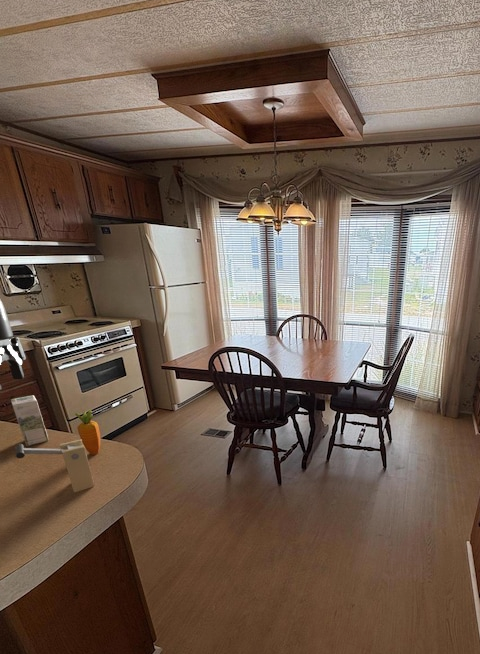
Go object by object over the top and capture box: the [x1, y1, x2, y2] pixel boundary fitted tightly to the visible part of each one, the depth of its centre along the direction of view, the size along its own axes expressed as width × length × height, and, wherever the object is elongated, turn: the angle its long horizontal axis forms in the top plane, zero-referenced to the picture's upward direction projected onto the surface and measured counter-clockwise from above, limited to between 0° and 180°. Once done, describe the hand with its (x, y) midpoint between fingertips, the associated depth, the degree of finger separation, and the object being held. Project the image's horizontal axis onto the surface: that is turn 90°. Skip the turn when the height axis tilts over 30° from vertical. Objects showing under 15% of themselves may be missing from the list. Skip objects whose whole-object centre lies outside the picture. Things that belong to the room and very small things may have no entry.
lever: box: [14, 443, 79, 459], centre depth 81 cm, size 12×5×2 cm, turn 131°
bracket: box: [59, 438, 95, 493], centre depth 86 cm, size 8×7×13 cm
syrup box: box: [10, 394, 50, 447], centre depth 106 cm, size 6×6×14 cm
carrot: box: [74, 410, 101, 456], centre depth 99 cm, size 5×5×15 cm
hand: (8, 384), depth 84 cm, fingers open, 8 cm apart
